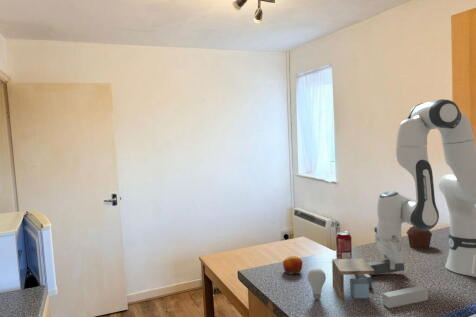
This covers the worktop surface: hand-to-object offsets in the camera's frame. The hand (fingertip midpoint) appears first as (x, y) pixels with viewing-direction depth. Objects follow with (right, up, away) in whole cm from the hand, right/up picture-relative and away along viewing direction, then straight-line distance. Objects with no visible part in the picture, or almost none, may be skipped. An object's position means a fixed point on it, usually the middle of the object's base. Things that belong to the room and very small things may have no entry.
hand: (389, 266), depth 144 cm
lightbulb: (-34, -6, -20) cm, 39 cm away
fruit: (-38, -4, +5) cm, 38 cm away
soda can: (-13, -3, +20) cm, 23 cm away
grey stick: (-5, -5, -24) cm, 25 cm away
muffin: (+29, 0, +33) cm, 44 cm away
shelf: (-20, -5, -15) cm, 25 cm away
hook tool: (-4, -3, -5) cm, 7 cm away
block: (-18, -5, -17) cm, 25 cm away
